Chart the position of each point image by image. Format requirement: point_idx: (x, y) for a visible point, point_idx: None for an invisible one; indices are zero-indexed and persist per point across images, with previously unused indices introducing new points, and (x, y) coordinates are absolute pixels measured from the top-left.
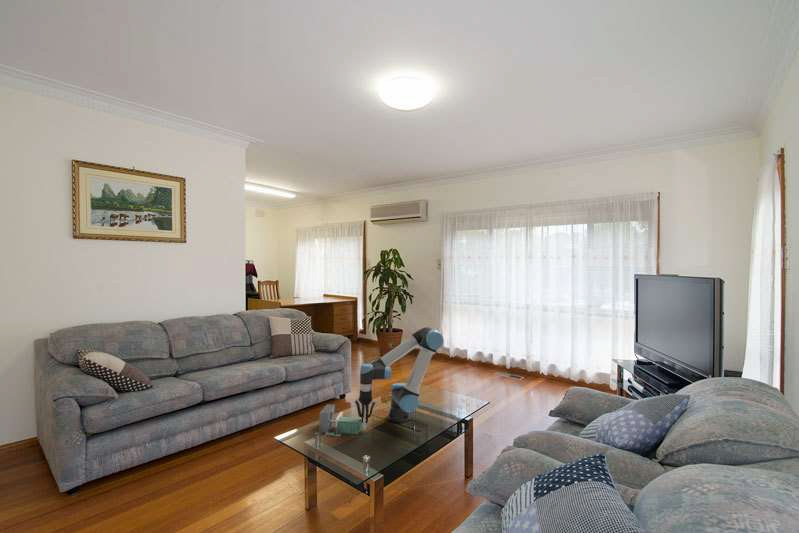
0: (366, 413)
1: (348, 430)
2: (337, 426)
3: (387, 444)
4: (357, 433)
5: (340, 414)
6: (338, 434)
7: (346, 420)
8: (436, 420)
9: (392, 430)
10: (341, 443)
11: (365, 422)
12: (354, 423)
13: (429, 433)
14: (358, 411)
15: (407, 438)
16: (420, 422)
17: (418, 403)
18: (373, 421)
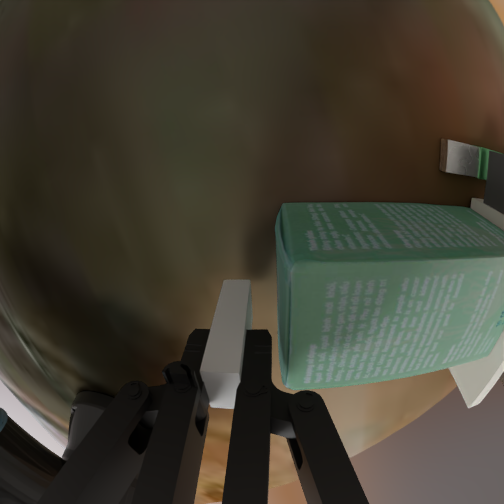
0: (170, 441)
1: (400, 211)
2: (502, 227)
3: (18, 114)
4: (293, 204)
5: (500, 368)
6: (463, 151)
7: (470, 293)
8: (23, 386)
9: (68, 318)
10: (388, 6)
11: (210, 329)
12: (365, 252)
13: None
14: (337, 469)
15: None
16: (40, 382)
17: None
18: None
